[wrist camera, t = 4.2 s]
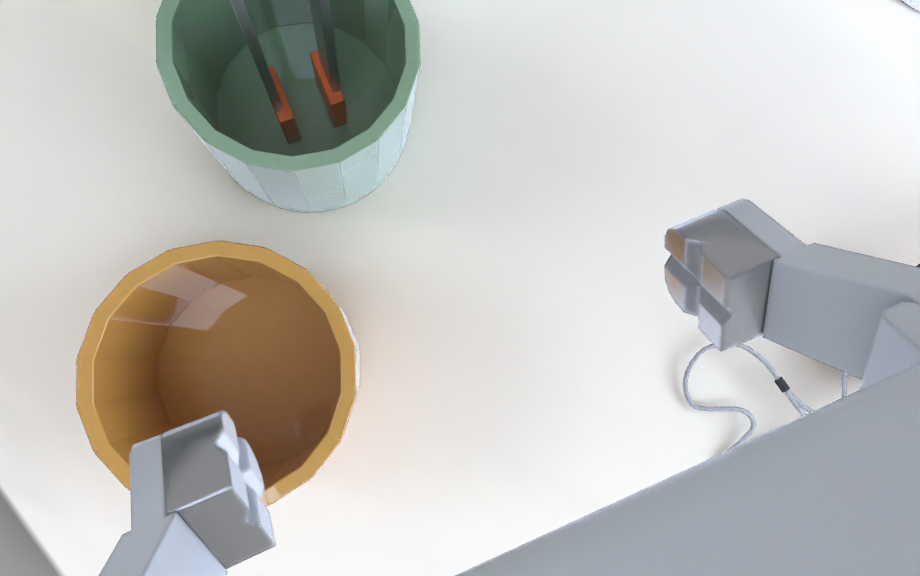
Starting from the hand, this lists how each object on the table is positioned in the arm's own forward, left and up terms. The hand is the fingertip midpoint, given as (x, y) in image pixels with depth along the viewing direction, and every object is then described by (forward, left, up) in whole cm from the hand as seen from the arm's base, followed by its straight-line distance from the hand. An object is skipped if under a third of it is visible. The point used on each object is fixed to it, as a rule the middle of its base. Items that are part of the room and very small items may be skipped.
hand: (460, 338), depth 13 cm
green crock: (0, -13, -24) cm, 27 cm away
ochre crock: (+7, -2, -24) cm, 25 cm away
